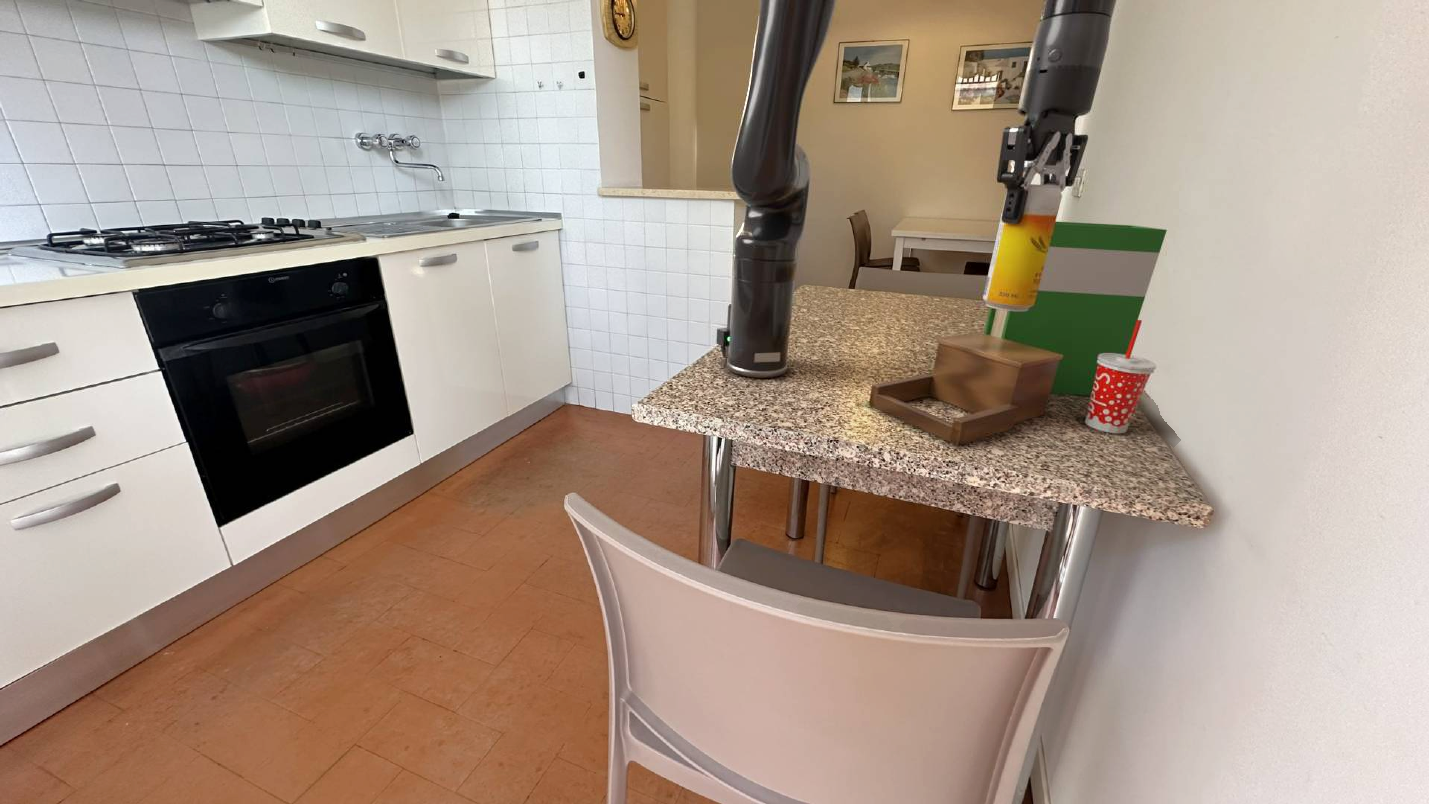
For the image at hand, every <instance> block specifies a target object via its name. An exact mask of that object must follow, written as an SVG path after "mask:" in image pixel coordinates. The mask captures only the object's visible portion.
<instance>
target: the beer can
mask: <svg viewBox="0 0 1429 804" xmlns="http://www.w3.org/2000/svg"><path fill="white" fill-rule="evenodd" d="M1060 187H1061V186H1055V185H1040V184H1034V183H1031V184H1030V186H1029V188H1028V189H1027V190H1025V191H1029V192H1028V196H1027V200H1026V204H1025V209H1024V213H1023V217H1022V221H1021V222H1020V223H1018V224H1014V223H1004V222H1002V213H1003V208H1004V205H1005V199H1006V196H1005V197H1004V202H1003V206H1002V211H1001V215H1000V218H999V219H1000V220H999V224H998V228H997V232H996V238H995V242H994V247H993V251H992V255H991V259H990V264H989V268H988V274H987V278H986V282H985V287H984V291H983V296H982V300H983V301H984V302H985V306H986V307H988V308H990V307H991V308H994V309H999V310H1005V311H1015V312H1023V311H1028V309H1029V308H1030V307H1032V306H1033V305H1034V303H1035V300H1036V296H1037V292H1038V288H1039V284H1040V280H1041V276H1042V272H1043V268H1044V265H1045V261H1046V257H1047V253H1048V249H1049V245H1050V241H1051V237H1052V233H1053V230H1054V226H1055V222H1056V221H1057V217H1058V214H1059V210H1060V206H1061V202H1062V198H1063V195H1062V192H1061V190H1060ZM1006 194H1007V192H1006V193H1005V195H1006Z"/></svg>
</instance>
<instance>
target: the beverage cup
mask: <svg viewBox="0 0 1429 804" xmlns="http://www.w3.org/2000/svg"><path fill="white" fill-rule="evenodd" d="M1142 322H1143V320H1142V319H1138V320H1137V323H1136V326H1135V329H1134V332H1133V335H1132V338H1131V341H1130V344H1129V348H1128V351H1127V354H1126V355H1124V354H1116V353H1102V354H1099V355H1098V360H1097V363H1098V368H1097V373H1096V377H1095V381H1094V385H1093V390H1092V394H1091V395H1090V399H1089V403H1088V407H1087V412H1086V416H1085V419H1084V423H1085V425H1087V426H1088V427H1089V428H1092V429H1094V430H1097V431H1101V432H1105V433H1110V434H1124V433H1126V432H1127V431H1128V427H1129V426H1130V423H1131V421H1132V418H1133V416H1134V415H1135V411H1136V409H1137V407H1138V405H1139V402H1140V400H1141V398H1142V395H1143V393H1144V390H1145V388H1146V386H1147V384H1148V381H1149V379H1150V376H1151V374H1154V373H1155V370H1156V369H1157V363H1155V362H1154V361H1151V360H1149V359H1145V358H1144V357H1138V356H1134V355H1132V353H1133V350H1134V346H1135V343H1136V340H1137V337H1138V334H1139V331H1140V328H1141V325H1142Z"/></svg>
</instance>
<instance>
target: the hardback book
mask: <svg viewBox="0 0 1429 804" xmlns="http://www.w3.org/2000/svg"><path fill="white" fill-rule="evenodd" d="M1167 231H1168V230H1167V229H1163V228H1158V227H1157V228H1156V227H1148V226H1141V225H1129V224H1113V223H1112V224H1111V223H1093V222H1076V221H1073V222H1072V221H1057V220H1056V222H1055V226H1054V230H1053V233H1052V237H1051V241H1050V245H1049V249H1048V253H1047V257H1046V261H1045V265H1044V268H1043V272H1042V276H1041V280H1040V284H1039V288H1038V292H1037V296H1036V300H1035V303H1034V305H1033V306H1032V307H1030V308H1029V309H1028V311H1023V312H1015V311H1005V310H999V309H994V308H991V307H988V312H987V317H986V320H985V325H984V331H983V333H984V334H987V335H991V336H995V337H999V338H1002V339H1006V340H1010V341H1013V342H1017V343H1021V344H1025V345H1028V346H1032V347H1036V348H1039V349H1043V350H1047V351H1051V352H1054V353H1058V354H1062V355H1063V358H1062V359H1060V360H1059V364H1058V367H1057V371H1056V375H1055V378H1054V382H1053V385H1052V389H1051V392H1050V394H1062V395H1063V394H1064V395H1078V396H1091V394H1092V390H1093V385H1094V381H1095V377H1096V373H1097V368H1098V363H1097V360H1098V355H1099V354H1102V353H1116V354H1124V355H1126V354H1127V351H1128V348H1129V344H1130V341H1131V338H1132V335H1133V332H1134V329H1135V326H1136V323H1137V320H1139V317H1140V314H1141V311H1142V308H1143V305H1144V302H1145V299H1146V296H1147V292H1148V290H1149V287H1150V285H1151V280H1152V277H1153V274H1154V271H1155V268H1156V264H1157V262H1158V260H1159V255H1160V253H1161V249H1162V247H1163V243H1164V240H1165V237H1166V234H1167Z"/></svg>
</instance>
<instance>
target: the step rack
mask: <svg viewBox="0 0 1429 804" xmlns="http://www.w3.org/2000/svg"><path fill="white" fill-rule="evenodd" d="M936 343H937V349H936V354H935V360H934V365H933V370H932V375H931V374H929V373H923V374H919V375H914V376H908V377H903V378H898V379H894V380H889V381H884V382H879V383H878V382H877V383H874V384H871V389H870V395H869V401H868V406H870V407H872V408H874V409H876V410H879V411H881V412H882V413H885V414H887V415H889V416H892V417H894V418H896V419H898V420H899V421H903V422H905V423H907V424H910V425H911V426H914V427H915V428H917V429H920V430H922V431H925V432H926V433H928V434H931V435H933V436H935V437H937V438H939V439H942V440H943V441H947V442H948V443H951V444H953V445H954V446H957V447H959V446H961V445H965V444H968V443H971V442H975V441H977V440H981V439H985V438H988V437H990V436H993V435H997V434H1000V433H1003V432H1007V431H1010V430H1013V428H1014V424H1015V423H1019V422H1023V421H1026V420H1029V419H1032V418H1036V417H1039V416H1043V415H1045V414H1046V410H1047V406H1048V403H1049V399H1050V396H1051V393H1050V392H1051V389H1052V385H1053V382H1054V378H1055V375H1056V371H1057V367H1058V364H1059V360H1060V359H1062V358H1063V355H1062V354H1058V353H1054V352H1051V351H1047V350H1043V349H1039V348H1036V347H1032V346H1028V345H1025V344H1021V343H1017V342H1013V341H1010V340H1006V339H1002V338H999V337H995V336H991V335H987V334H984V332H980V331H978V332H971V333H965V334H959V335H953V336H946V337H940V338H937V339H936ZM925 397H932V398H935V399H936V400H939V401H942V402H945V403H947V404H949V405H951V406H955V407H956V408H959V409H962V410H965V411H966V412H969V413H970V414H966V415H963V416H959V417H955V418H953V421H952V422H951V421H948V420H946V419H943V418H942V417H939V416H936V415H935V414H932V413H930V412H927V411H925V410H922V409H921V408H918V407H916V406H913V405H911V404H908V403H905V402H907V401H912V400H916V399H921V398H925Z"/></svg>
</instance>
